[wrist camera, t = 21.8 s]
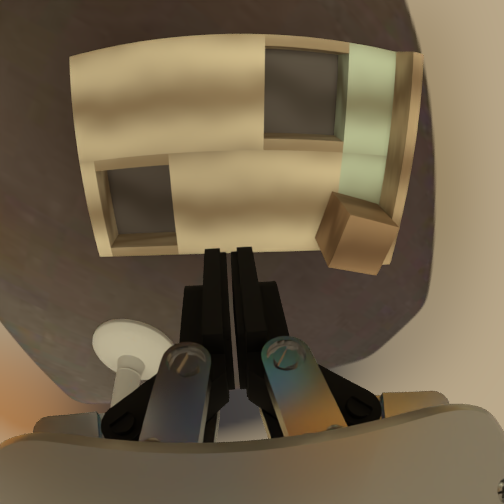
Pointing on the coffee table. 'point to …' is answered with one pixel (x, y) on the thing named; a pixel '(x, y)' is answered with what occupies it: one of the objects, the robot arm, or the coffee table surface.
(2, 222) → the coffee table surface
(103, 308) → the coffee table surface
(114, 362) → the candlestick
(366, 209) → the walnut block
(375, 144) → the board
